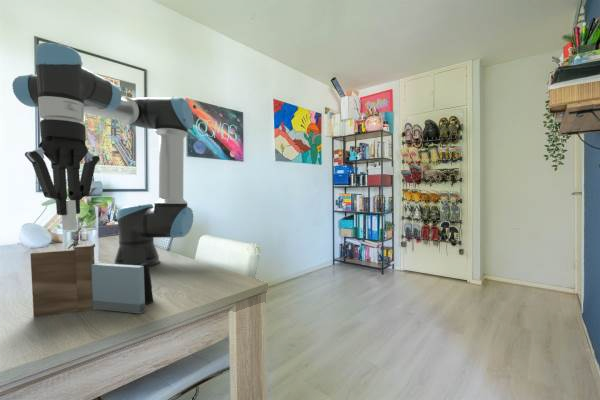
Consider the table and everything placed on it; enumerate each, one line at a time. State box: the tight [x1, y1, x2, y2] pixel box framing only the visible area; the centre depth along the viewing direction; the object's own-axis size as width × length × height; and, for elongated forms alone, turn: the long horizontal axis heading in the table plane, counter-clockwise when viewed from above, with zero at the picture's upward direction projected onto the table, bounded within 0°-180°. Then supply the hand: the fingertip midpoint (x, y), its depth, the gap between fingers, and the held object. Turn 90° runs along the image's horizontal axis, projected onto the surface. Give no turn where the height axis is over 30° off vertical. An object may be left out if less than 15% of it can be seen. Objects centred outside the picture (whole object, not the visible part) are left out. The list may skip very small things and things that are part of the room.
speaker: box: [139, 263, 154, 306], centre depth 73 cm, size 8×6×10 cm
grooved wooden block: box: [30, 243, 96, 318], centre depth 68 cm, size 3×12×16 cm, turn 113°
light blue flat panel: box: [91, 262, 146, 314], centre depth 67 cm, size 13×2×11 cm, turn 79°
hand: (69, 229), depth 62 cm, fingers closed
